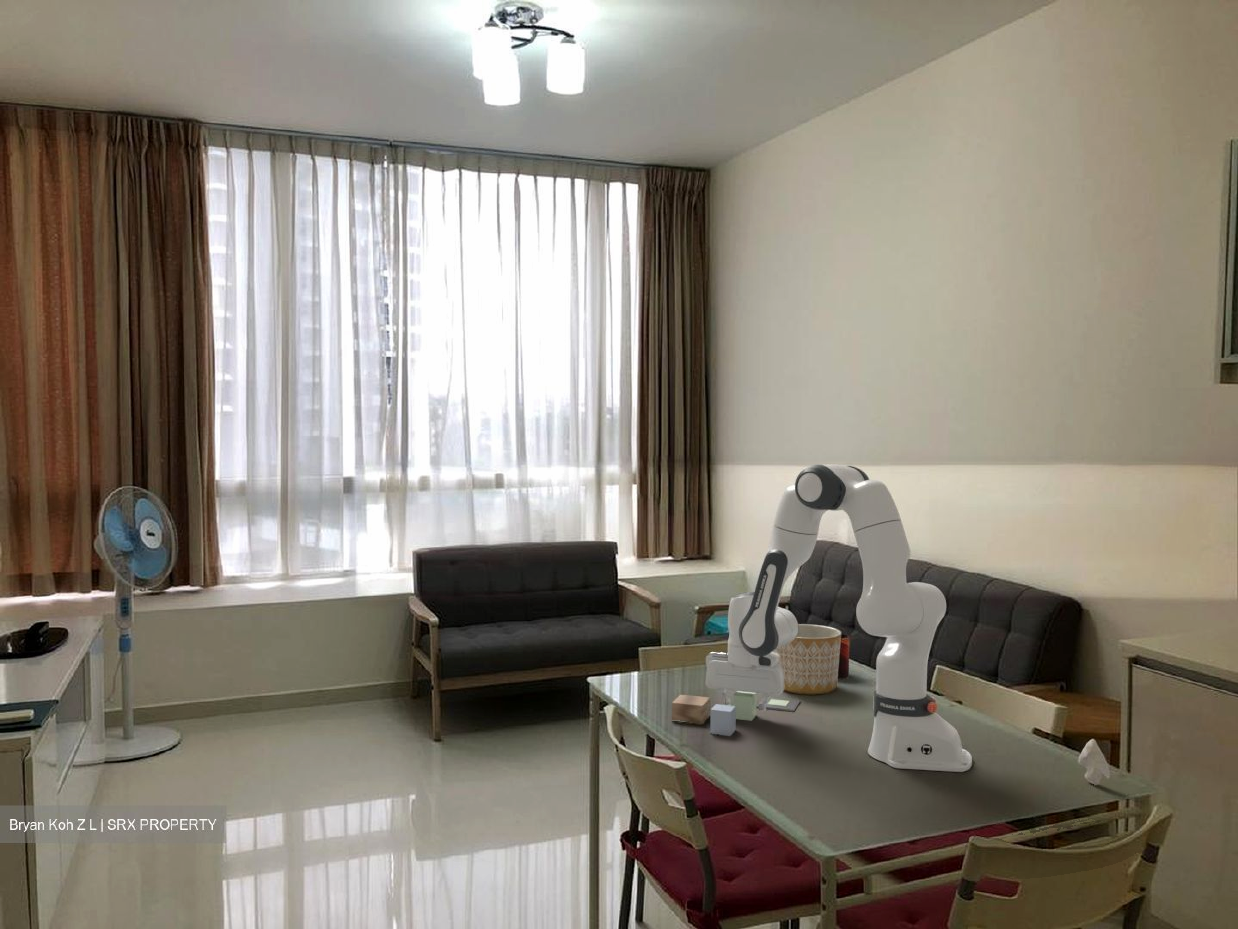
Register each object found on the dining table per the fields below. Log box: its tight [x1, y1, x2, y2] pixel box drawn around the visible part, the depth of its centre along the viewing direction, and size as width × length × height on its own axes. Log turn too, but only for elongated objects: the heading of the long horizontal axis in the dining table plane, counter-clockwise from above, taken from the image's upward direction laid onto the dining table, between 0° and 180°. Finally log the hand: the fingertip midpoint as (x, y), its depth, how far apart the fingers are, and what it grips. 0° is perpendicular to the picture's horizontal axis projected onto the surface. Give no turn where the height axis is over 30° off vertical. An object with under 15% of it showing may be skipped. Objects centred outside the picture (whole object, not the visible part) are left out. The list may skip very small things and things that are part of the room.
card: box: [756, 696, 801, 713], centre depth 259 cm, size 10×10×1 cm
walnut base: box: [671, 694, 711, 725], centre depth 246 cm, size 8×8×5 cm
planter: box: [773, 623, 842, 696], centre depth 276 cm, size 19×19×16 cm
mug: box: [837, 632, 850, 680], centre depth 292 cm, size 10×14×12 cm
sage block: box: [732, 691, 757, 722], centre depth 248 cm, size 5×5×6 cm
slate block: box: [710, 703, 737, 737], centre depth 236 cm, size 5×5×6 cm
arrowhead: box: [1077, 738, 1111, 786], centre depth 200 cm, size 8×3×10 cm, turn 21°
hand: (744, 708), depth 248 cm, fingers open, 8 cm apart
